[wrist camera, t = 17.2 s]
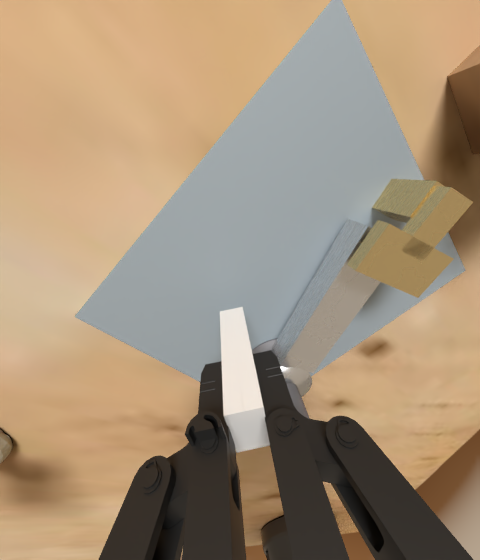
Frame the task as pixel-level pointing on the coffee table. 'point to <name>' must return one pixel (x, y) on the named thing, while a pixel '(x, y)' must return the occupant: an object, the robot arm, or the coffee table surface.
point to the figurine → (4, 446)
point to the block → (468, 96)
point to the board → (268, 213)
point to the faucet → (324, 309)
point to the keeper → (410, 234)
